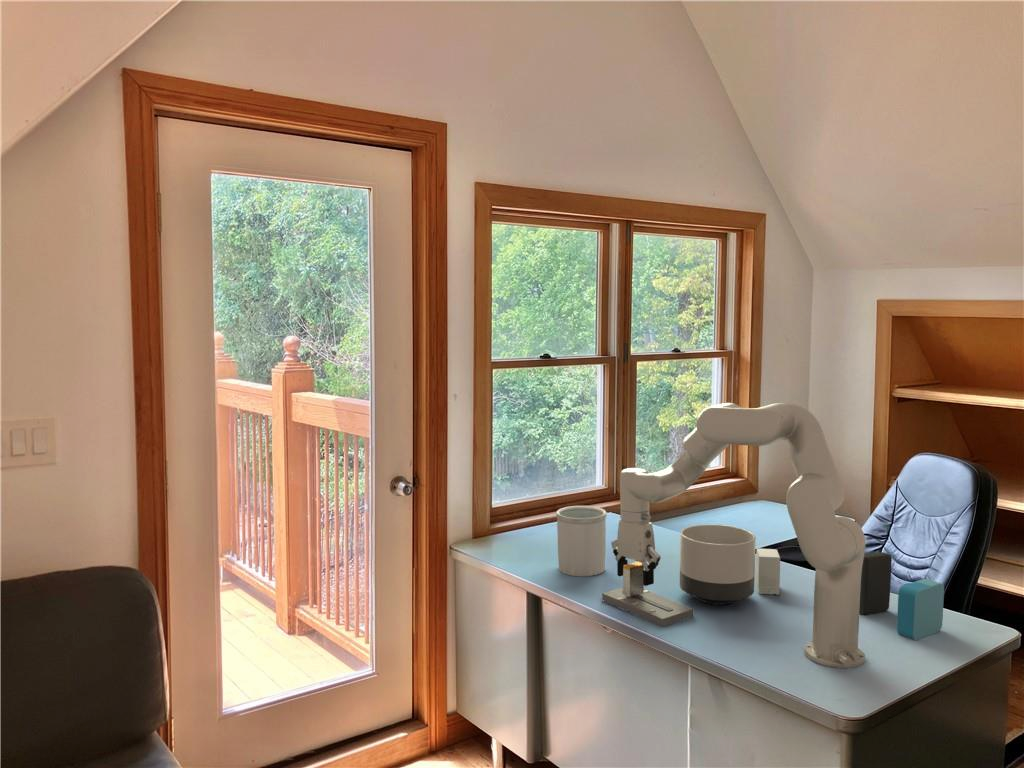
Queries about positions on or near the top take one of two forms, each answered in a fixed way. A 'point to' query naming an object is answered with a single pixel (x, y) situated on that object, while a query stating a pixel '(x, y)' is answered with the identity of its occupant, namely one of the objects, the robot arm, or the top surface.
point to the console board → (649, 606)
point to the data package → (920, 609)
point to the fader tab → (633, 579)
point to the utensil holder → (581, 540)
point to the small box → (767, 571)
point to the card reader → (875, 583)
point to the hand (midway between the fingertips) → (635, 579)
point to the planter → (717, 563)
